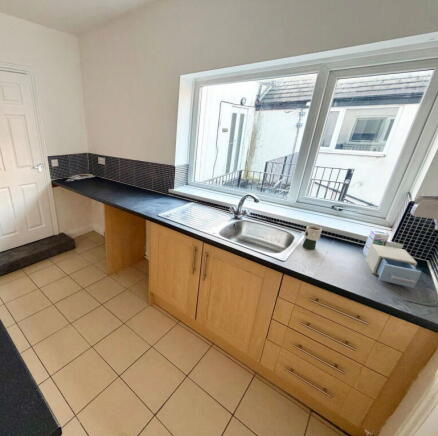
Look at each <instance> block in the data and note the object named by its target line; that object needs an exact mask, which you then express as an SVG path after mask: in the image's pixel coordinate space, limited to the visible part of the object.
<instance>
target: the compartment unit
mask: <svg viewBox="0 0 438 436" xmlns="http://www.w3.org/2000/svg"><path fill="white" fill-rule="evenodd" d="M381 258H386V259H391V260H396V261H401V262H406V263H411V264H412V265H413V266H414V267H415V268H416V267H417V265H418V262H417V261H416V260H415V259H414V257H413V256H412V255H411V254H410V253H409V252H408V251H407V250H406V249H403V248H397V247H392V246H387V245H385V246H382V245H376V244H371V246H370V249H369V252H368V254H367V257H366V256H365V261H366V264H367V265H368V268H369V271H370V273H372V274H373V275H377V276H379V275H378V273H377V271H376V269H377V267H378V264H379V262H380V259H381Z"/></svg>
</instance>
